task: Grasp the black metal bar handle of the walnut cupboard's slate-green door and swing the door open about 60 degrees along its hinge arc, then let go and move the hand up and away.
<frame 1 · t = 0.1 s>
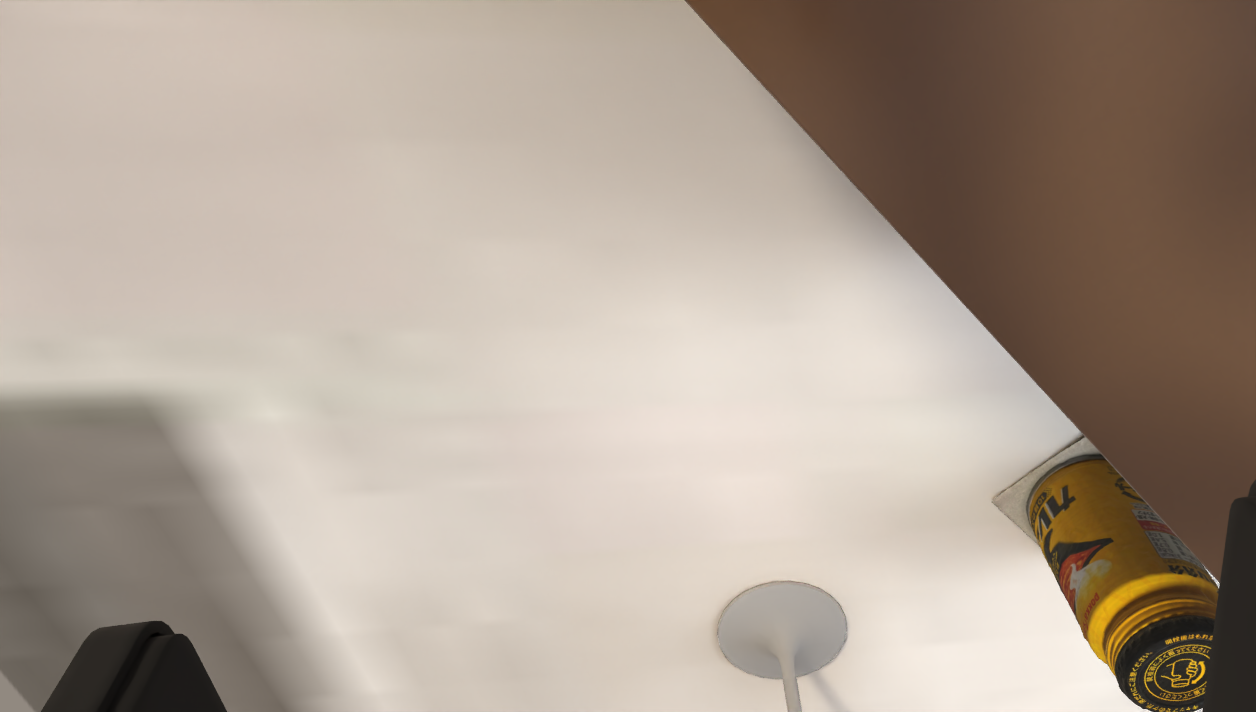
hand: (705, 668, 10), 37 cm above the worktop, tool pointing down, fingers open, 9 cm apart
wineglass: (781, 627, 60), on the worktop
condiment: (1098, 489, 55), on the worktop
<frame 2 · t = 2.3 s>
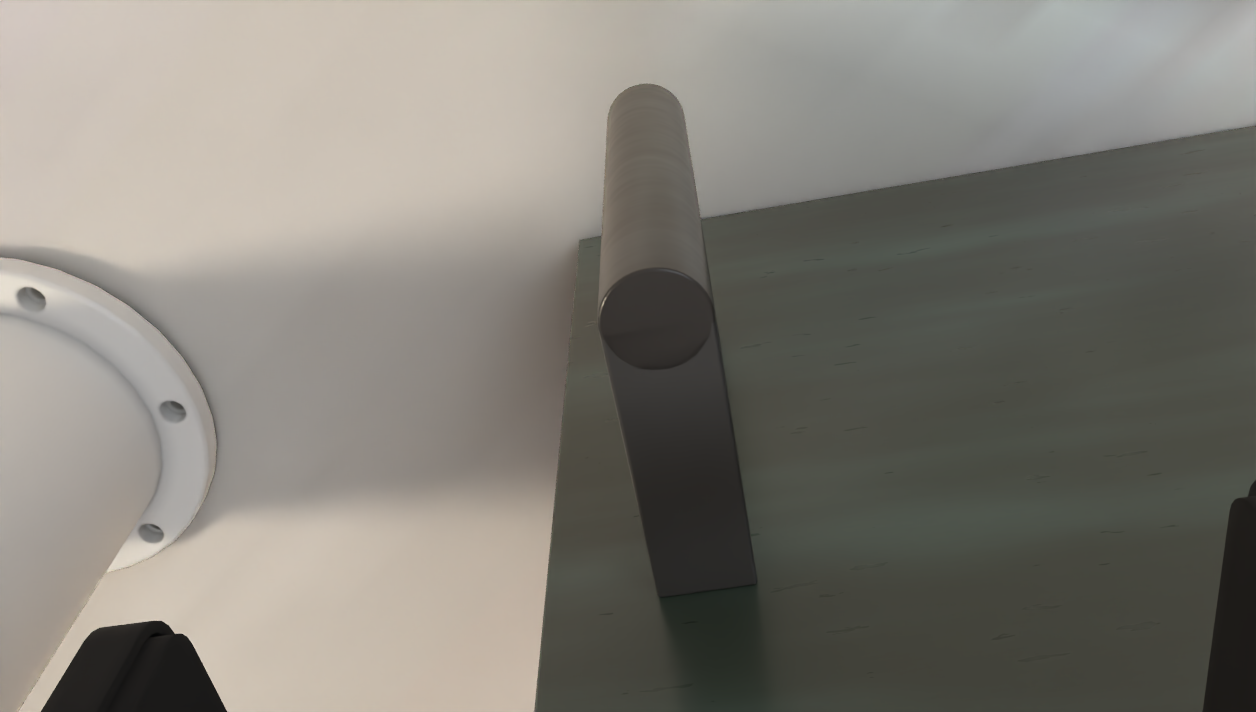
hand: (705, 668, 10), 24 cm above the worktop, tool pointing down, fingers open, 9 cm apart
door: (1174, 246, 21), point 12 cm above the worktop, hinge at 0.0°
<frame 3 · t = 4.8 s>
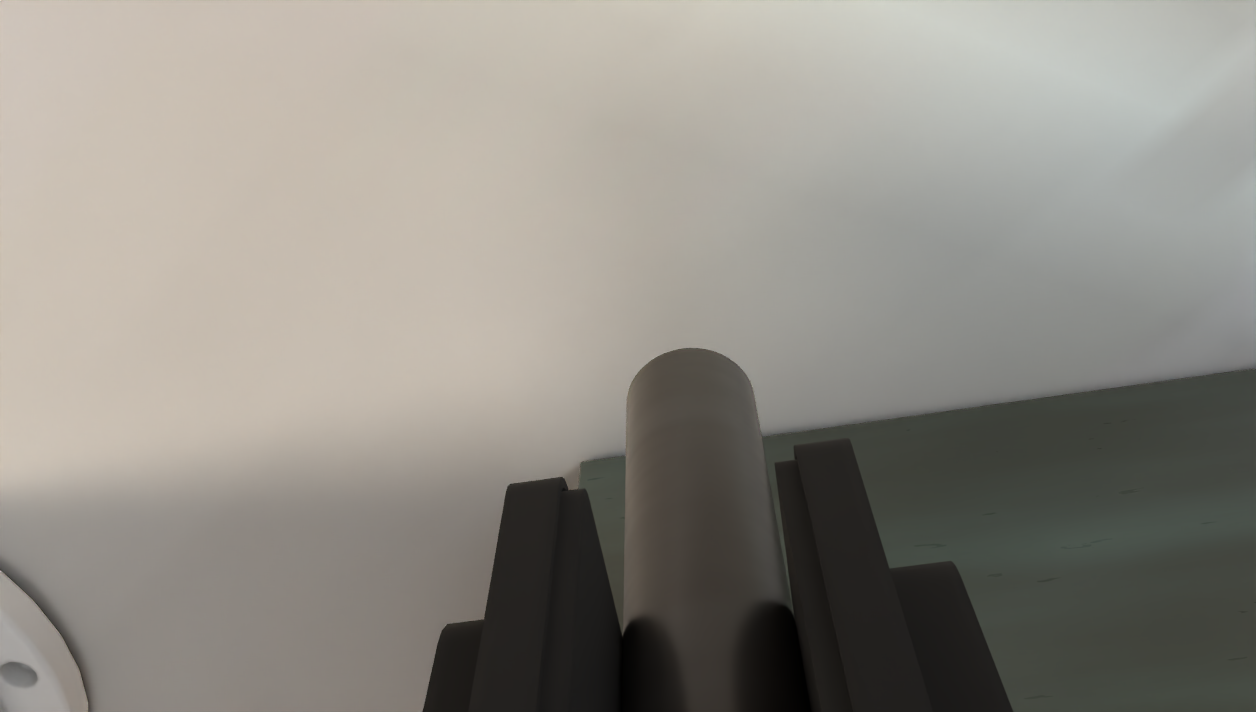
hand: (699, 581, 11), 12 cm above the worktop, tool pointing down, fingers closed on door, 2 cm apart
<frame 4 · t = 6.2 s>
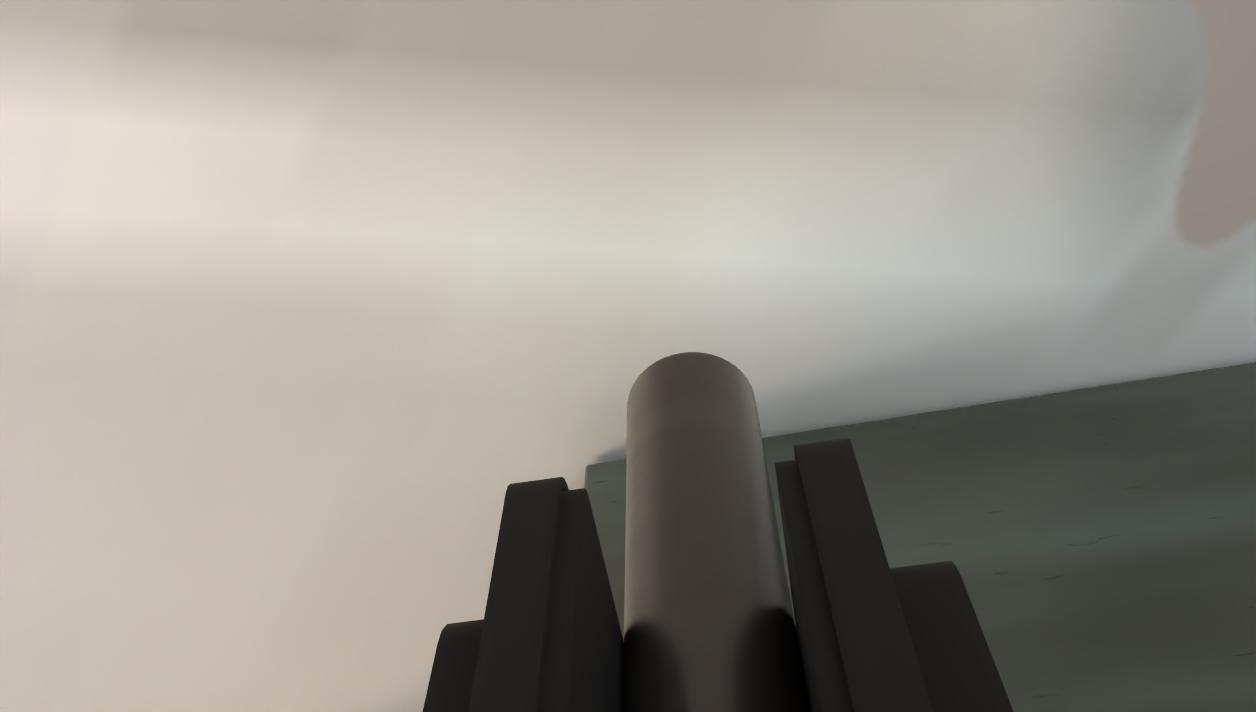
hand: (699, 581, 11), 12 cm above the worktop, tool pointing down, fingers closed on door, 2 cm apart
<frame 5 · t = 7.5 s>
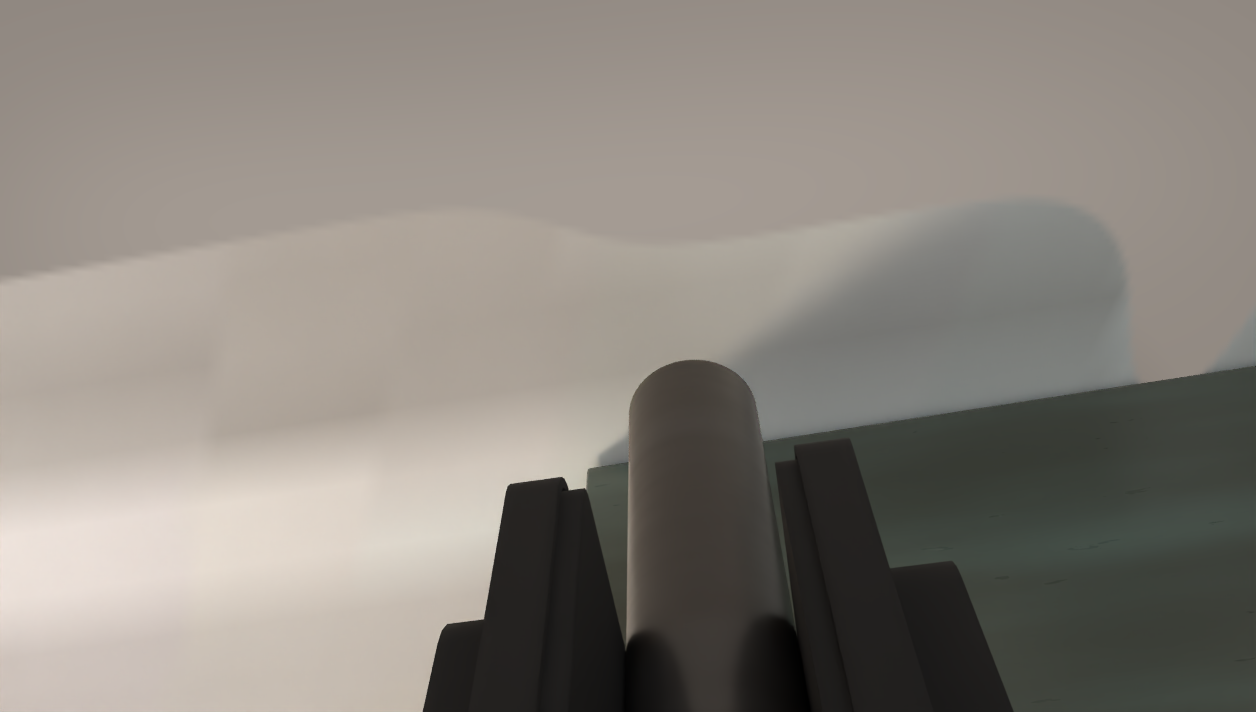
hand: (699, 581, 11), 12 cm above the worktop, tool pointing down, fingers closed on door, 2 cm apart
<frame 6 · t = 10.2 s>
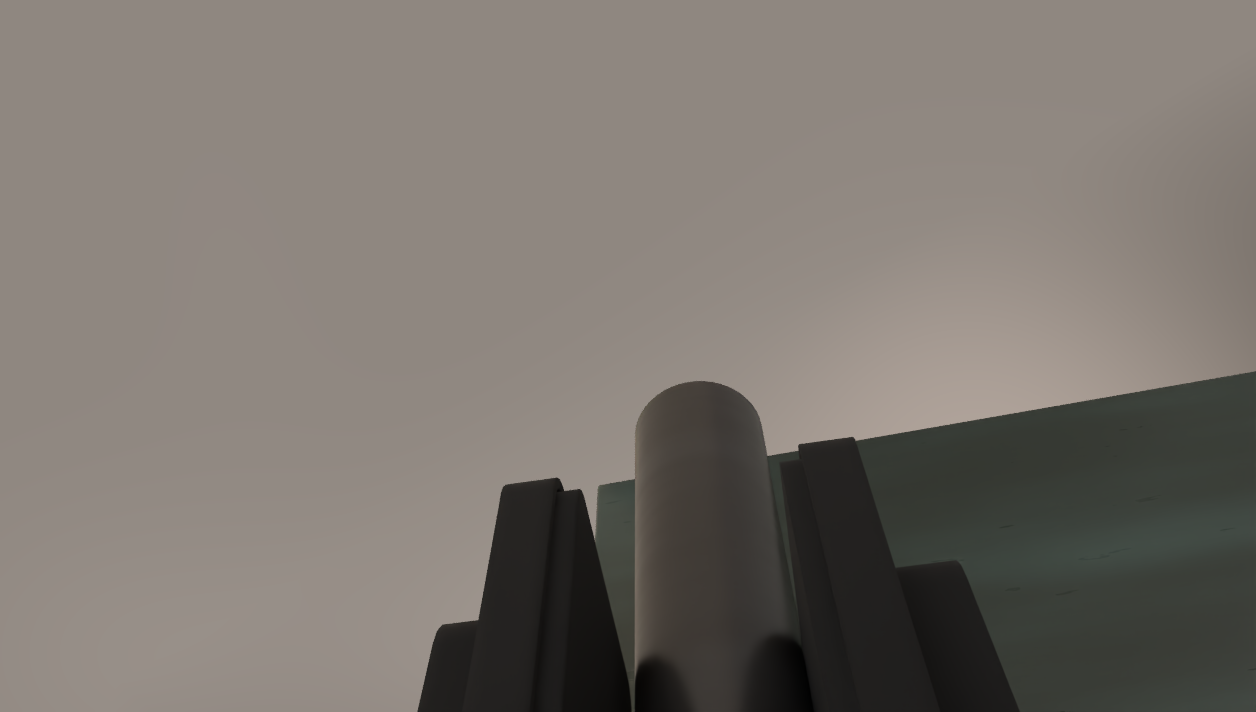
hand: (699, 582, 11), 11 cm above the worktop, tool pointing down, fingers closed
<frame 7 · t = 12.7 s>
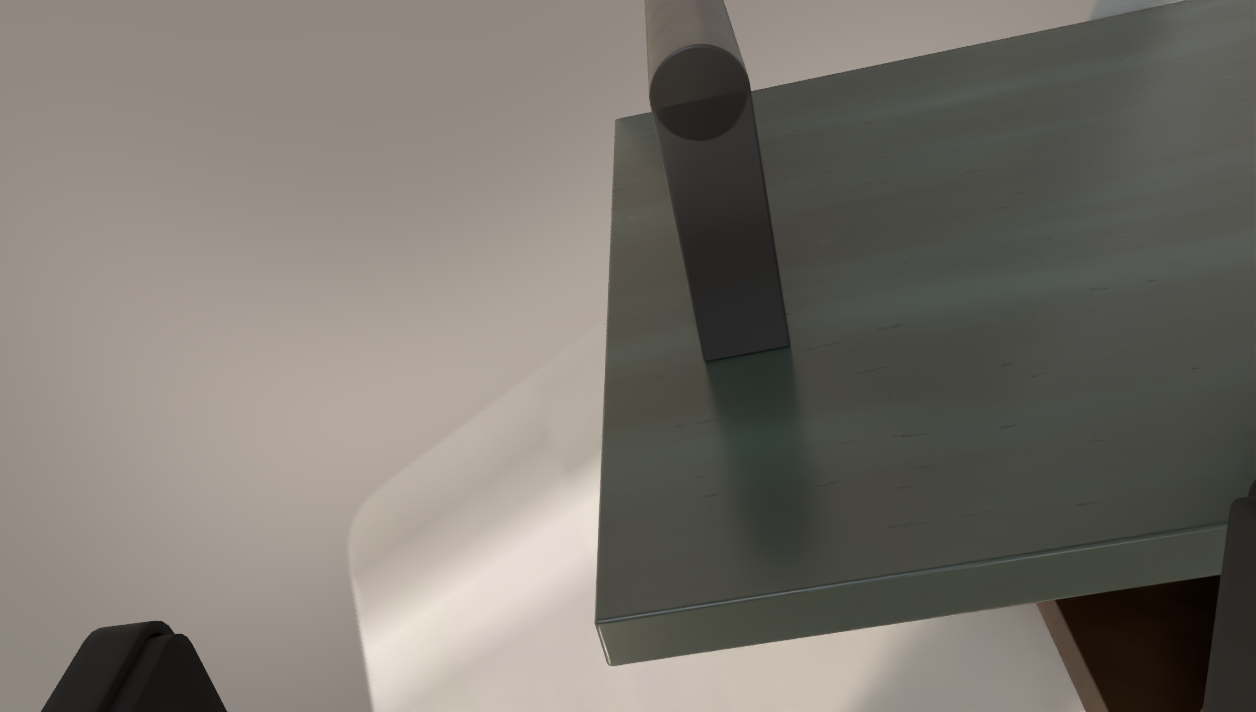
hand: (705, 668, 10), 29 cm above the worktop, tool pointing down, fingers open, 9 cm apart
door: (1156, 55, 24), point 12 cm above the worktop, hinge at 57.9°
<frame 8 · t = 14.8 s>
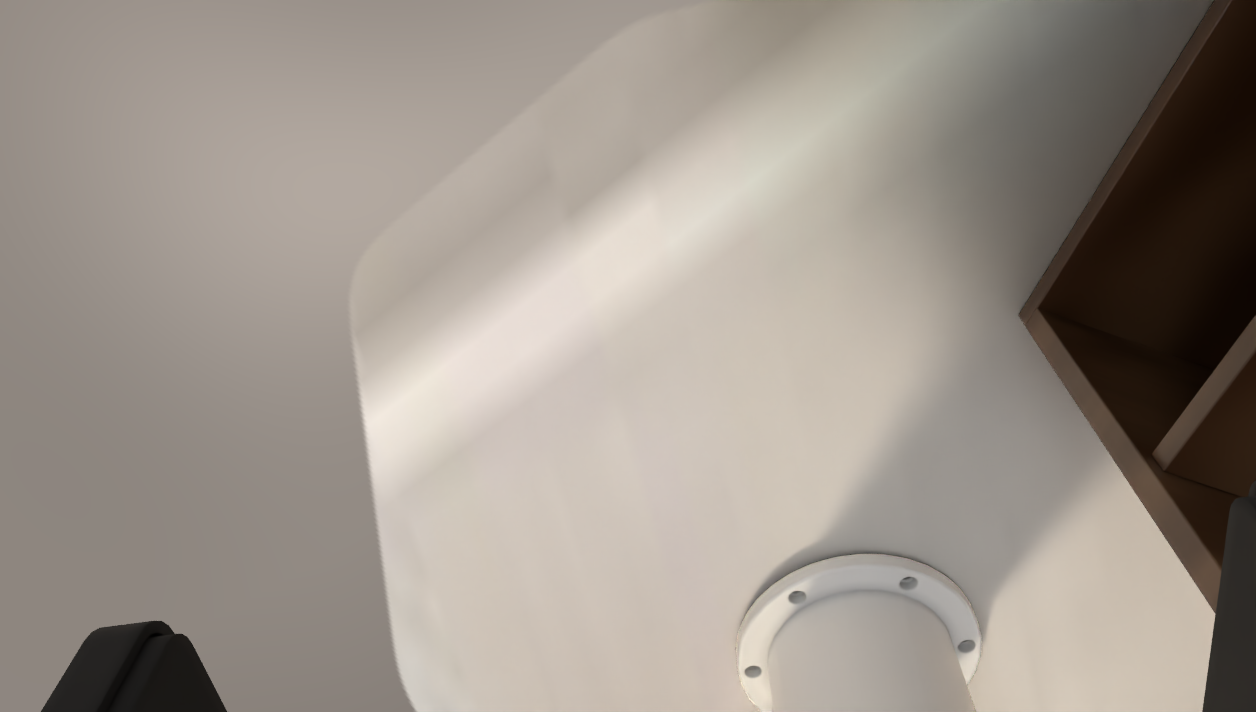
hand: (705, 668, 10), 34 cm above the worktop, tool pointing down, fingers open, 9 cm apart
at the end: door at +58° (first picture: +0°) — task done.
